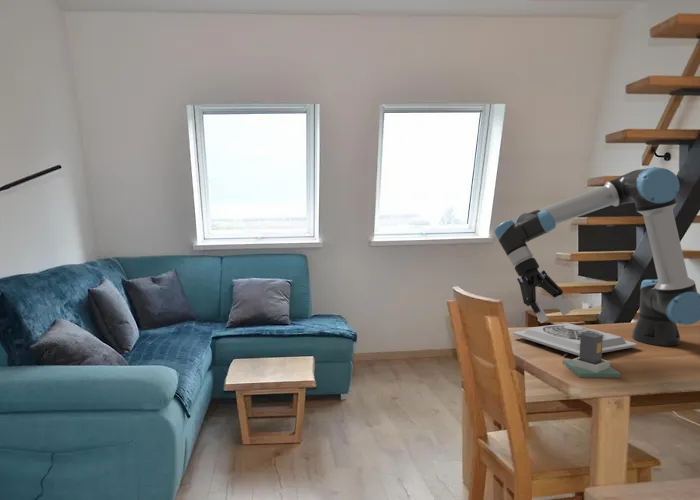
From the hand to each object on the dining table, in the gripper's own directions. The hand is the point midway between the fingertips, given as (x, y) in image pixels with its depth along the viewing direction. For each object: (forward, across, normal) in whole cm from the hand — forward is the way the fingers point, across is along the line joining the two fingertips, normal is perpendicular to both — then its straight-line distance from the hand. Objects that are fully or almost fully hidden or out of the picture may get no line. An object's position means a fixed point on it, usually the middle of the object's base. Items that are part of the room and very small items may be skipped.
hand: (556, 317), depth 159 cm
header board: (+19, +3, +3) cm, 19 cm away
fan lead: (+12, -7, -7) cm, 15 cm away
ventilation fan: (+9, -19, -12) cm, 24 cm away
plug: (+18, +3, +3) cm, 18 cm away
